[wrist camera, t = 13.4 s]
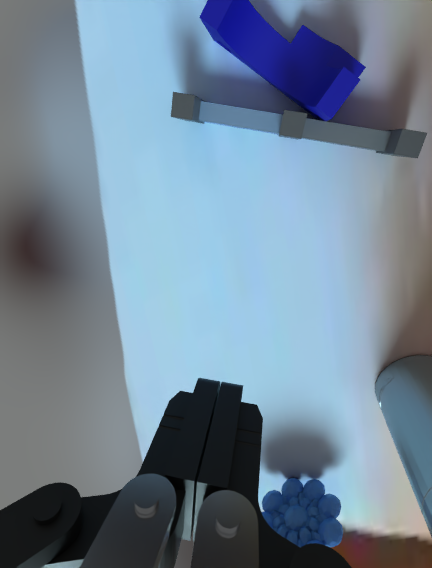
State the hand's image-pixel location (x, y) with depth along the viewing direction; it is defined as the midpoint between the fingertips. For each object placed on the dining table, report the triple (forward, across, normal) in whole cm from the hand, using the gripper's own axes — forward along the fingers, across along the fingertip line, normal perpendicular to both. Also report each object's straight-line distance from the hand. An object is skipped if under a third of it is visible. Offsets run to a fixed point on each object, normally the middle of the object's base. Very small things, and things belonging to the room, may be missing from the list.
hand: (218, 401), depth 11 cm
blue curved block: (+26, 0, -15) cm, 30 cm away
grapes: (+26, -10, +37) cm, 46 cm away
